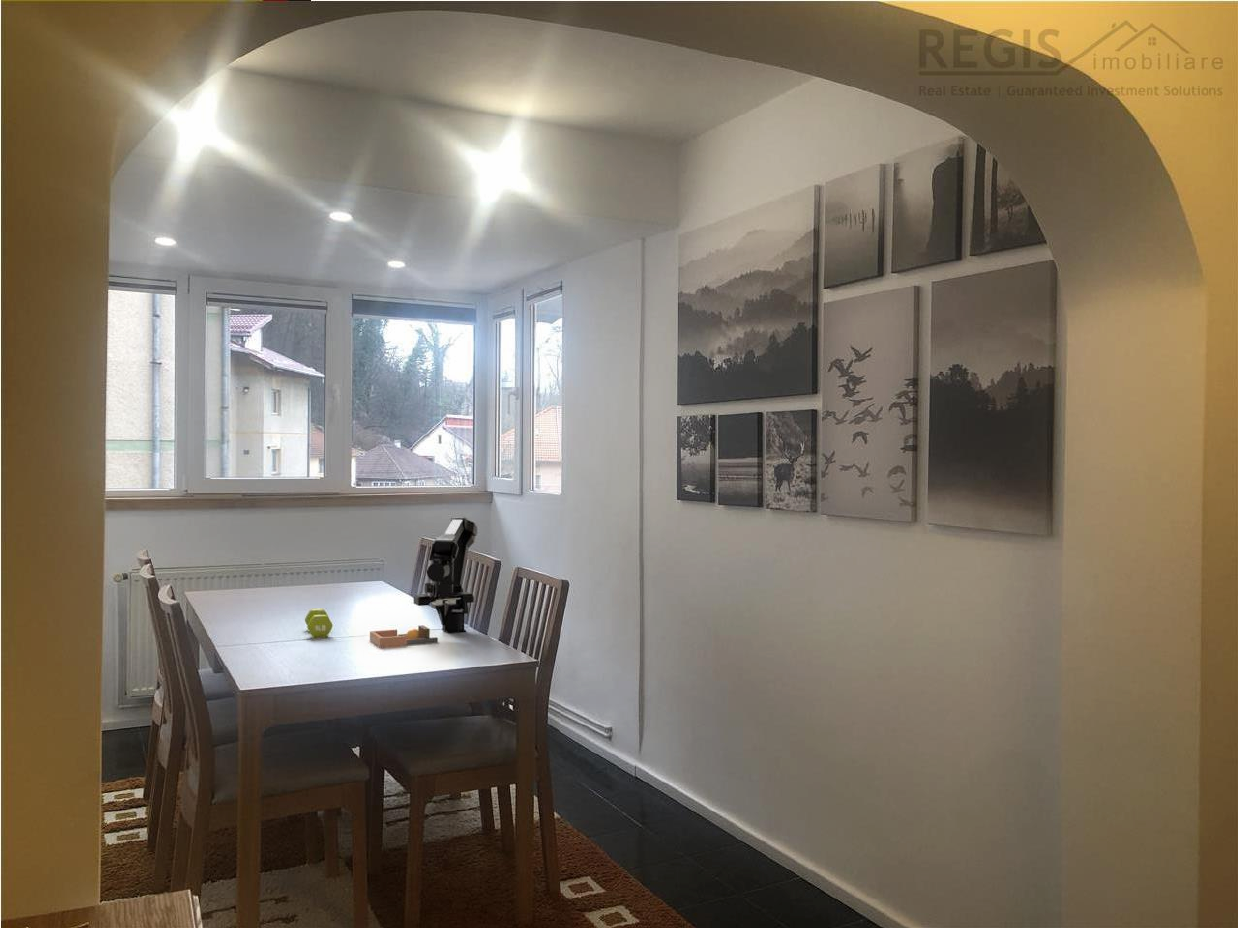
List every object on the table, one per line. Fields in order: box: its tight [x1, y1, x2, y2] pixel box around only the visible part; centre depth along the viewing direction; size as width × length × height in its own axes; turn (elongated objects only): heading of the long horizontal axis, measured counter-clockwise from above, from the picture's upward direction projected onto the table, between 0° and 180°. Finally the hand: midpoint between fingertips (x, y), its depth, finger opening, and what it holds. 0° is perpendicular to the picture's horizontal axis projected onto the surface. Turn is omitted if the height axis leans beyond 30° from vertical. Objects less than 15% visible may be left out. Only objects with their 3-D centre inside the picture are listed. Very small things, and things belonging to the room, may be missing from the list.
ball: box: [406, 628, 420, 640], centre depth 302 cm, size 4×4×4 cm
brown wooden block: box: [417, 625, 431, 639], centre depth 303 cm, size 2×7×4 cm, turn 29°
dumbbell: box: [304, 608, 333, 639], centre depth 311 cm, size 16×8×7 cm, turn 21°
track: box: [397, 633, 439, 646], centre depth 302 cm, size 10×10×2 cm
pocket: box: [369, 629, 408, 649], centre depth 298 cm, size 8×12×3 cm
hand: (443, 625), depth 307 cm, fingers closed
